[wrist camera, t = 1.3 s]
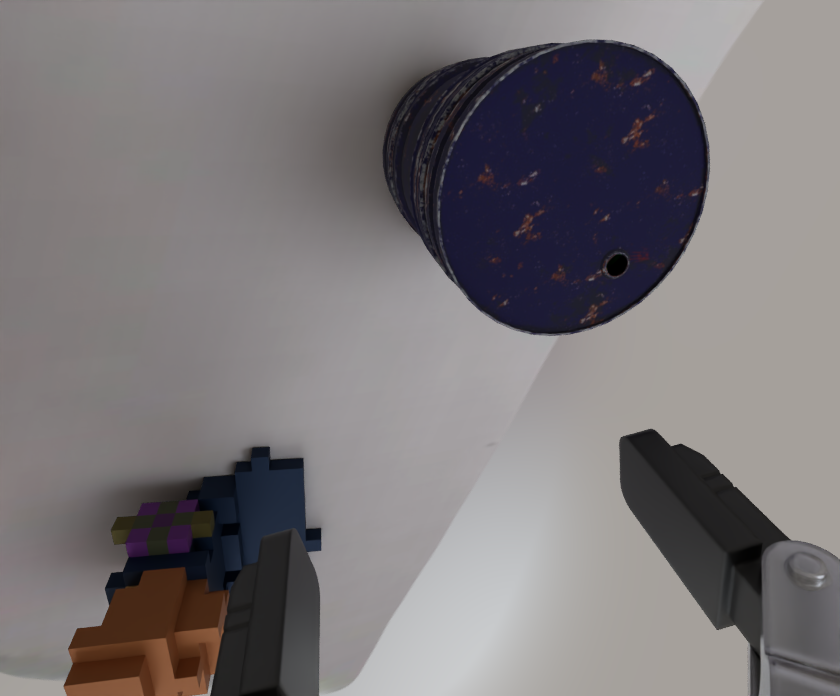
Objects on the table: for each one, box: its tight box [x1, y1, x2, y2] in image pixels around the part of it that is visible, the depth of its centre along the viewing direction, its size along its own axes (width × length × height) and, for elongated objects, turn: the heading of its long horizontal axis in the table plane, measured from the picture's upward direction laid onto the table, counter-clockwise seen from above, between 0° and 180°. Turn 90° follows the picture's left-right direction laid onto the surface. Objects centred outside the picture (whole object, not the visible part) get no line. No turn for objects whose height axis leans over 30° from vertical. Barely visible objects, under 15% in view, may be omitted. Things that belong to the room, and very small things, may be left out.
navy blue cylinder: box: [383, 40, 710, 336], centre depth 24 cm, size 10×10×15 cm
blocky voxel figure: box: [64, 447, 321, 696], centre depth 34 cm, size 15×14×13 cm
